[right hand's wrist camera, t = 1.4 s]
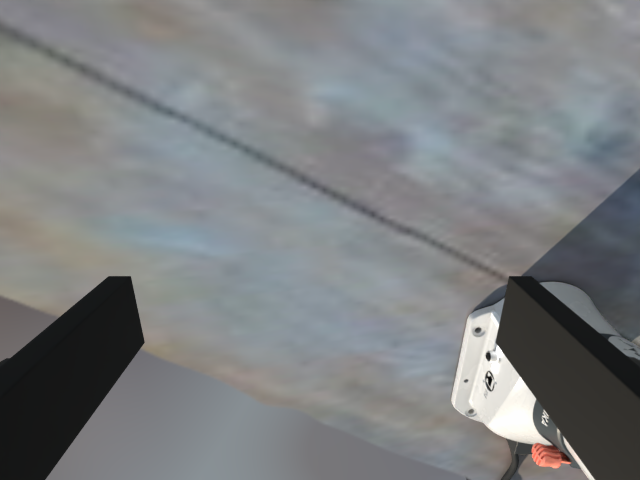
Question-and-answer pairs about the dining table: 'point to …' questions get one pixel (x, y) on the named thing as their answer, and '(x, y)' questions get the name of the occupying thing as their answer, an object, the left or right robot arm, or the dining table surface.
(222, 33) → the dining table surface
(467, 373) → the left robot arm
